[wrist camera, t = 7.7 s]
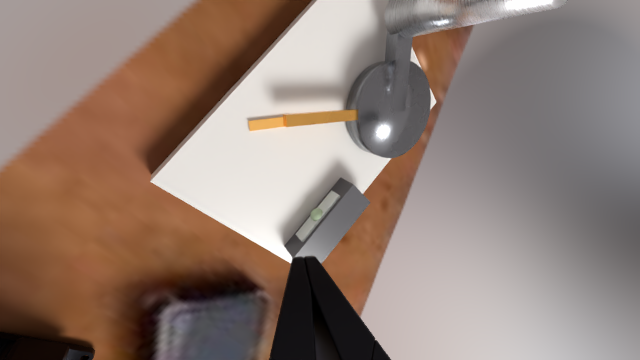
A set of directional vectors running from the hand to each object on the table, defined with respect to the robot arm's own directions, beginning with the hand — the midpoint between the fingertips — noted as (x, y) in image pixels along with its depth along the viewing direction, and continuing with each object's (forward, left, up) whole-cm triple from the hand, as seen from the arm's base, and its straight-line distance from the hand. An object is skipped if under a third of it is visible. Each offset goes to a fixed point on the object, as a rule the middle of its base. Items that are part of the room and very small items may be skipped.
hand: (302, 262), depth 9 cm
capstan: (+12, -2, -11) cm, 16 cm away
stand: (+8, -4, -13) cm, 15 cm away
